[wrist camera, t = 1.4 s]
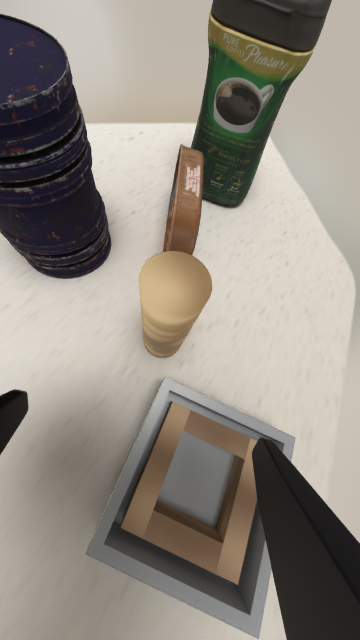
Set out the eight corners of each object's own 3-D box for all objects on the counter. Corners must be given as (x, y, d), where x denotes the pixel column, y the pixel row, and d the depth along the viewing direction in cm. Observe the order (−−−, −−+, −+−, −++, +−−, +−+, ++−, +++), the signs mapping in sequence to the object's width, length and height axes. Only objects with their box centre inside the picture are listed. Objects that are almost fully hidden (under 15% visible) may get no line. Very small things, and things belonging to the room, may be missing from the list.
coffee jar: (250, 181, 34) (357, -48, 16) (239, 215, 31) (355, -21, 13) (193, 159, 34) (241, -94, 16) (176, 191, 31) (213, -77, 13)
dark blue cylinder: (107, 209, 28) (65, 18, 14) (118, 273, 25) (78, 111, 11) (22, 214, 26) (-128, -3, 12) (22, 285, 23) (-179, 104, 9)
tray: (236, 591, 16) (258, 639, 13) (97, 523, 17) (85, 553, 13) (272, 431, 21) (295, 437, 18) (162, 379, 21) (165, 376, 18)
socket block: (227, 563, 16) (237, 584, 15) (123, 513, 17) (120, 527, 15) (257, 442, 20) (268, 446, 18) (170, 401, 20) (172, 401, 18)
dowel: (149, 362, 22) (151, 324, 10) (139, 327, 23) (130, 258, 12) (186, 351, 22) (223, 304, 11) (174, 317, 24) (197, 245, 12)
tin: (170, 194, 30) (178, 123, 22) (192, 198, 31) (206, 130, 23) (158, 286, 25) (162, 235, 17) (184, 290, 25) (201, 241, 17)
